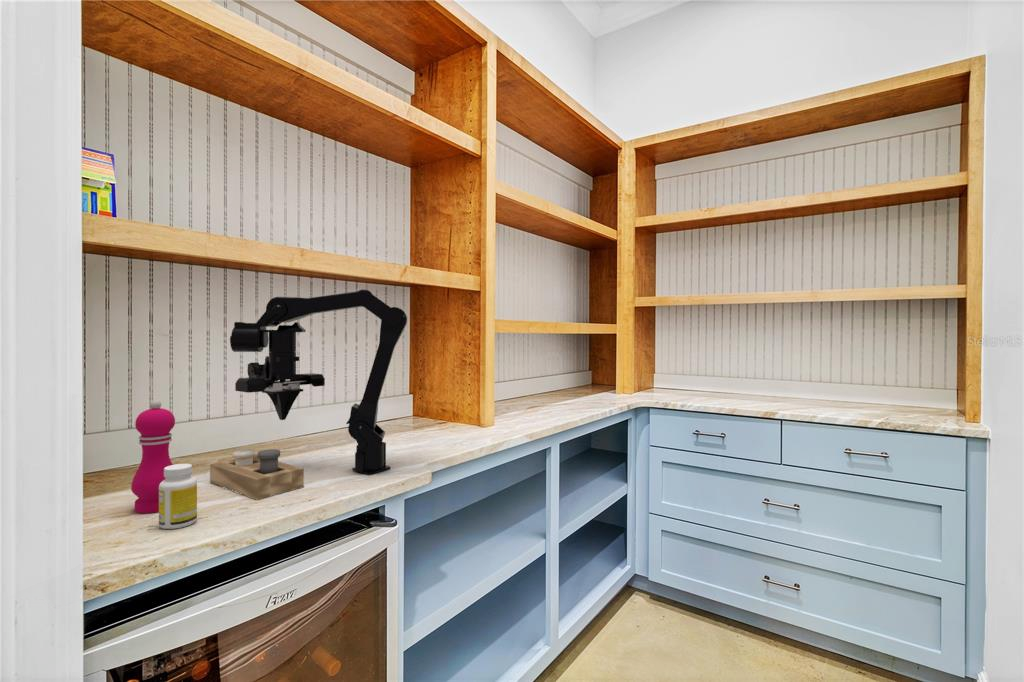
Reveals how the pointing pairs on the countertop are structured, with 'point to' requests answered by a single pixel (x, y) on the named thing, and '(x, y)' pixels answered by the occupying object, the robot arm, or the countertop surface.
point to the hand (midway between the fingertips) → (282, 419)
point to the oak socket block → (256, 478)
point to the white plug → (243, 457)
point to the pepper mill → (152, 456)
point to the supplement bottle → (177, 497)
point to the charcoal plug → (268, 460)
